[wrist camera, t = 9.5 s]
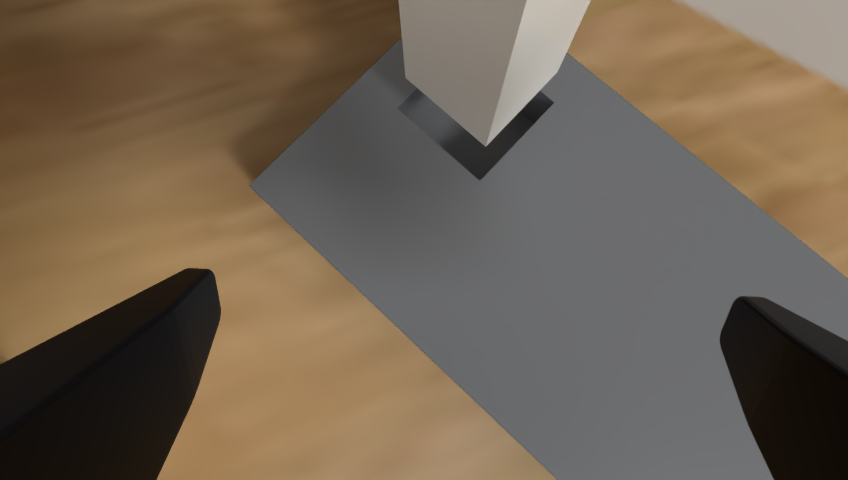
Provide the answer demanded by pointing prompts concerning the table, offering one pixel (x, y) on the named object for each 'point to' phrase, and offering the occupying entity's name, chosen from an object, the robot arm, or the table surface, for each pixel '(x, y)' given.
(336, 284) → the table surface
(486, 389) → the socket block
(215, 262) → the table surface
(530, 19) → the plug
